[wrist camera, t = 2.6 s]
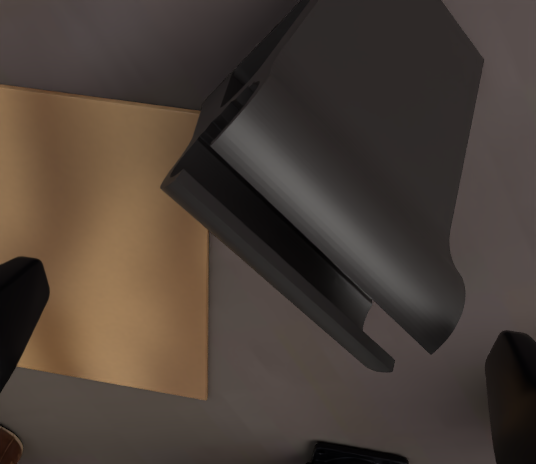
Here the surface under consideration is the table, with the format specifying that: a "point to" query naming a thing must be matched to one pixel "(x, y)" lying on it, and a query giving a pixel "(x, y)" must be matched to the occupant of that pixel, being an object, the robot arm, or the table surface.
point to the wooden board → (106, 238)
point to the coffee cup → (9, 447)
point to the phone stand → (343, 165)
